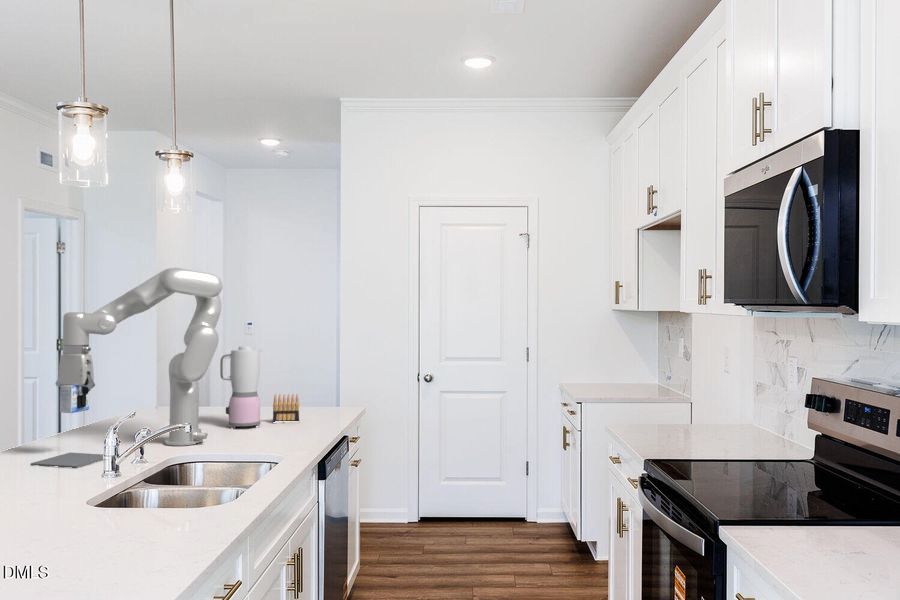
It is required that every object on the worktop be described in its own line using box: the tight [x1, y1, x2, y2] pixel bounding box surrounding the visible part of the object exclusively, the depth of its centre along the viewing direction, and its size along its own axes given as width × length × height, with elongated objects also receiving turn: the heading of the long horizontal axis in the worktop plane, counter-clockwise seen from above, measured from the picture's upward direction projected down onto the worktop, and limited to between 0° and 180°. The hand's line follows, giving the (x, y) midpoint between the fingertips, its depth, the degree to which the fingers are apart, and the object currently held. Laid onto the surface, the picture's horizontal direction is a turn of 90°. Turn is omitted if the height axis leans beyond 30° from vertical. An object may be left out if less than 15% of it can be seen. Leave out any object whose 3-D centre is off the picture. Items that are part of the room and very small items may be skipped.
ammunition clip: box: [272, 393, 300, 423], centre depth 289 cm, size 11×2×12 cm, turn 101°
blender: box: [219, 345, 262, 429], centre depth 278 cm, size 16×12×32 cm
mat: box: [30, 452, 104, 469], centre depth 215 cm, size 16×16×1 cm
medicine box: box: [59, 385, 90, 414], centre depth 225 cm, size 8×4×9 cm, turn 167°
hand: (74, 406), depth 225 cm, fingers closed on medicine box, 4 cm apart
